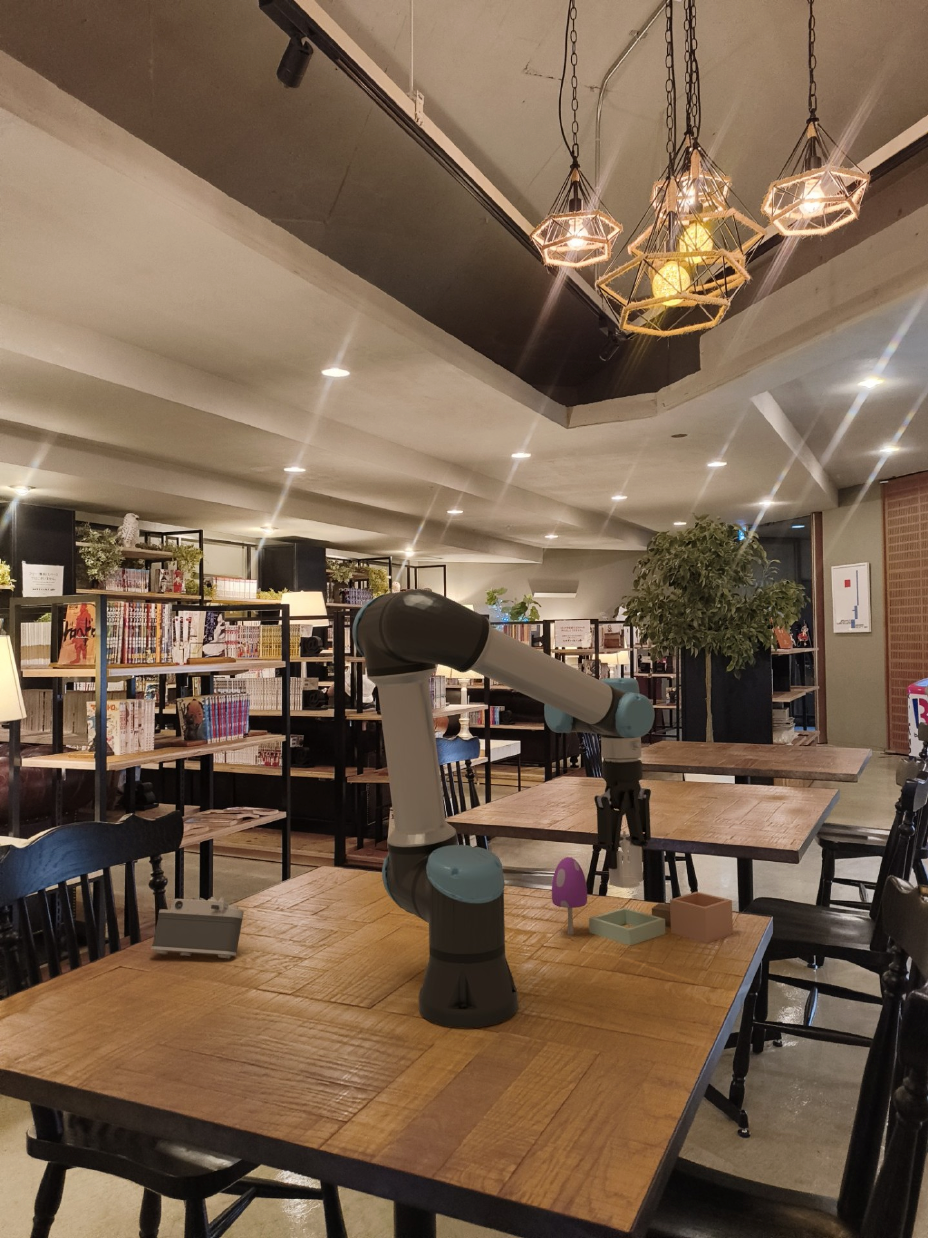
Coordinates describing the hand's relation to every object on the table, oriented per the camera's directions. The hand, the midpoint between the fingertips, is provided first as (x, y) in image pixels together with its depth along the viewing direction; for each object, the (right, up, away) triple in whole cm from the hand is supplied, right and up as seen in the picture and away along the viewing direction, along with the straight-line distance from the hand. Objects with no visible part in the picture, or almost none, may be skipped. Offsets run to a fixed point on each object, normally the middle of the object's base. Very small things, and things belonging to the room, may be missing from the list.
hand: (626, 882), depth 165 cm
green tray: (0, -10, 0) cm, 10 cm away
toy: (-10, -11, 0) cm, 15 cm away
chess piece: (0, -1, 0) cm, 1 cm away
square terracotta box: (+14, -10, -2) cm, 17 cm away
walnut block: (+9, -10, +5) cm, 14 cm away
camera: (-79, -12, -3) cm, 80 cm away
